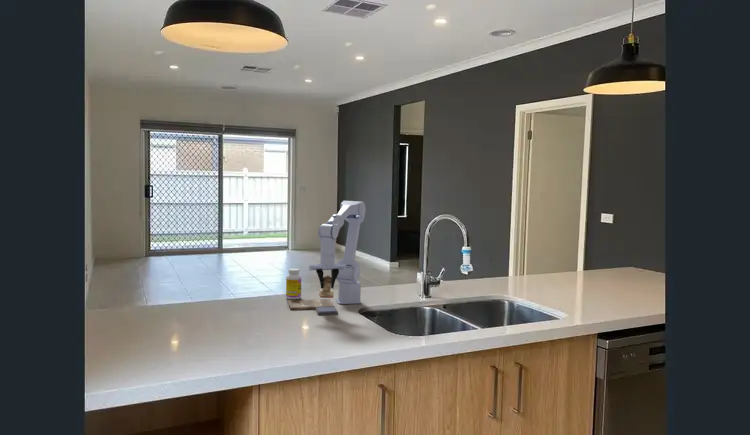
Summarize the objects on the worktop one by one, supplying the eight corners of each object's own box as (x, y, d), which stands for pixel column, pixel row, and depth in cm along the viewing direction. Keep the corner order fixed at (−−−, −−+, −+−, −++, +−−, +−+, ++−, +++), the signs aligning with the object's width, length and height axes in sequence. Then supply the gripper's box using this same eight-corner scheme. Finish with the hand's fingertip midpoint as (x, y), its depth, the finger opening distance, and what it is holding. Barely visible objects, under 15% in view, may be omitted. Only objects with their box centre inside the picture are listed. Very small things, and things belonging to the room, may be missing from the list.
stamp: (331, 295, 216) (332, 274, 216) (333, 297, 211) (334, 276, 211) (319, 294, 215) (320, 274, 215) (320, 297, 210) (322, 276, 210)
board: (329, 301, 232) (329, 298, 232) (334, 308, 220) (334, 306, 220) (287, 302, 228) (288, 299, 228) (290, 310, 216) (290, 307, 216)
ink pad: (334, 309, 219) (334, 306, 219) (338, 314, 211) (338, 311, 211) (315, 310, 217) (315, 307, 217) (317, 315, 209) (317, 312, 209)
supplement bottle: (299, 300, 233) (300, 270, 232) (284, 299, 233) (285, 270, 232) (302, 296, 240) (302, 268, 239) (287, 296, 240) (287, 267, 239)
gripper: (310, 255, 207) (309, 290, 208) (347, 255, 210) (346, 289, 211) (308, 253, 213) (308, 286, 215) (344, 252, 217) (343, 286, 218)
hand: (327, 287), depth 213 cm, fingers closed on stamp, 3 cm apart
